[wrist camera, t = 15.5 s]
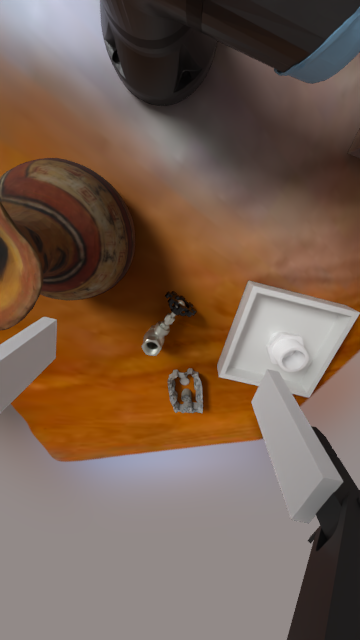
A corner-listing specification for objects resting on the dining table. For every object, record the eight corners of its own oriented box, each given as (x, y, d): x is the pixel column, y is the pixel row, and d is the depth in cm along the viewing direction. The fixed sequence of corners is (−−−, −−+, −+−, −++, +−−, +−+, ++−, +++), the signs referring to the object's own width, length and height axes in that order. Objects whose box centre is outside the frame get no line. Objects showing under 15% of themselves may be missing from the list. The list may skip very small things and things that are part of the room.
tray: (248, 280, 44) (253, 285, 40) (346, 305, 45) (360, 312, 41) (216, 365, 52) (218, 376, 48) (301, 385, 53) (309, 397, 49)
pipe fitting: (301, 335, 47) (322, 356, 40) (275, 358, 49) (290, 382, 42) (279, 317, 46) (297, 335, 38) (253, 342, 48) (265, 363, 41)
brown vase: (129, 299, 46) (38, 411, 19) (28, 267, 45) (-233, 340, 17) (154, 193, 39) (65, 123, 11) (34, 151, 37) (-413, -52, 10)
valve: (163, 347, 50) (196, 305, 46) (159, 364, 44) (197, 318, 40) (138, 331, 49) (169, 286, 45) (130, 346, 43) (166, 296, 39)
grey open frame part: (167, 367, 53) (166, 378, 49) (200, 366, 52) (201, 377, 48) (172, 404, 57) (171, 417, 53) (203, 403, 56) (203, 416, 52)
